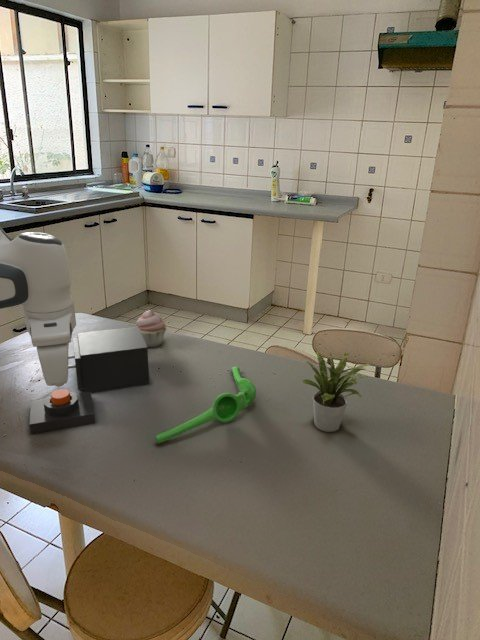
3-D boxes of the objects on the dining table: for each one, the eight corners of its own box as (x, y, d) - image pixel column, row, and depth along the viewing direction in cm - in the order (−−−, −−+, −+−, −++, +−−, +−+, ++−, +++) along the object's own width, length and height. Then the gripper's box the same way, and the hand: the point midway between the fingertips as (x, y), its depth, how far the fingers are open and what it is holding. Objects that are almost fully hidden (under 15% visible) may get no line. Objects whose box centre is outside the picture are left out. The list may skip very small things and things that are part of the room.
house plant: (364, 456, 87) (377, 380, 81) (291, 443, 90) (298, 369, 84) (363, 414, 100) (374, 346, 94) (299, 404, 103) (306, 338, 97)
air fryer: (84, 393, 104) (80, 355, 100) (81, 368, 115) (77, 332, 111) (149, 383, 109) (147, 347, 105) (140, 360, 120) (138, 326, 116)
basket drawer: (57, 392, 102) (53, 361, 99) (56, 369, 112) (53, 340, 109) (138, 380, 108) (137, 350, 106) (131, 359, 118) (129, 331, 115)
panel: (30, 434, 90) (28, 416, 88) (32, 409, 98) (29, 393, 96) (95, 422, 94) (93, 406, 93) (91, 400, 102) (89, 384, 100)
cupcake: (162, 351, 125) (161, 317, 121) (129, 348, 126) (127, 314, 122) (172, 337, 134) (171, 305, 130) (141, 334, 135) (139, 302, 131)
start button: (51, 407, 92) (50, 399, 92) (51, 398, 95) (50, 390, 95) (70, 404, 94) (69, 396, 93) (70, 395, 97) (69, 387, 96)
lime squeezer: (232, 371, 116) (233, 348, 114) (276, 382, 112) (277, 359, 109) (152, 444, 88) (151, 416, 86) (207, 464, 84) (207, 435, 81)
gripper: (34, 302, 96) (43, 361, 101) (31, 342, 78) (41, 412, 83) (66, 299, 98) (73, 357, 103) (70, 338, 80) (78, 406, 85)
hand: (59, 382), depth 93 cm, fingers closed
